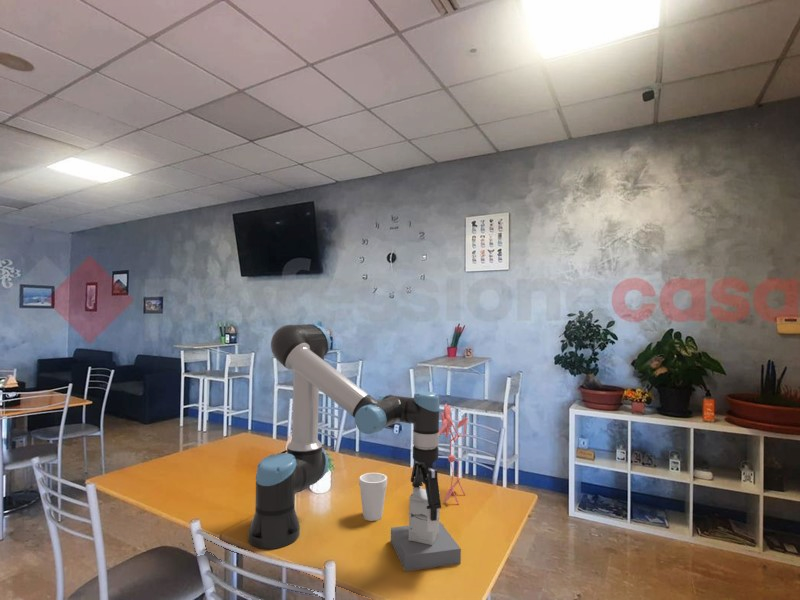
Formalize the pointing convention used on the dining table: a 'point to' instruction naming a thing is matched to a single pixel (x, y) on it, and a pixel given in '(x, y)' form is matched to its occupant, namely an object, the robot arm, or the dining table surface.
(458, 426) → the pink stick sculpture
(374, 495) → the foam cup
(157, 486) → the dining table surface
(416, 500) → the supplement box
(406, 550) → the block
